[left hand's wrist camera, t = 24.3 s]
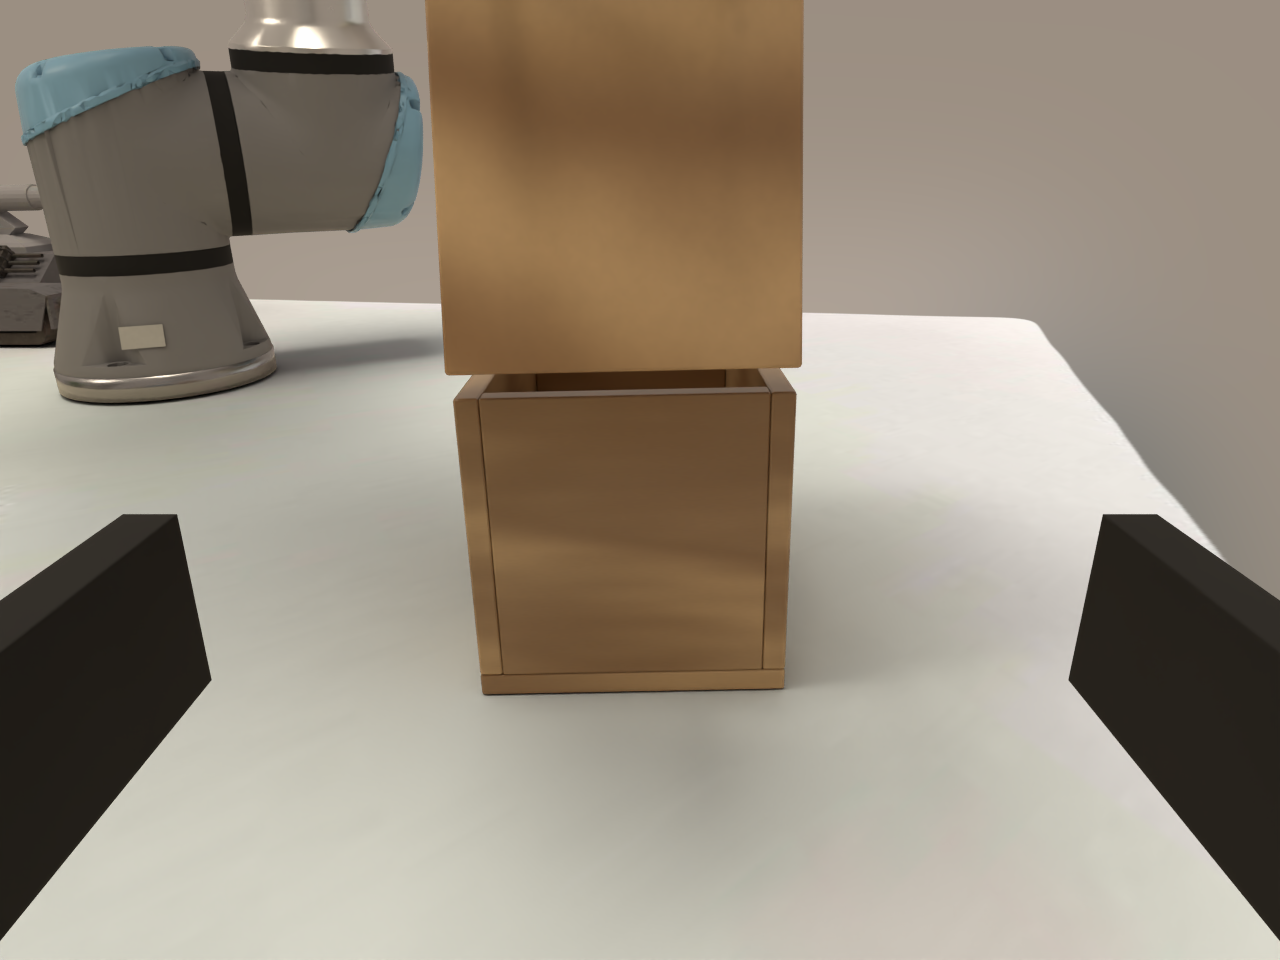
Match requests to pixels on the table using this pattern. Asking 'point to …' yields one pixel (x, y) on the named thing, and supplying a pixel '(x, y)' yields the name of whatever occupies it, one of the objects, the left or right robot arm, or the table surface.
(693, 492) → the chest
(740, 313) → the lid
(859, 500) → the table surface
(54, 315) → the toy
